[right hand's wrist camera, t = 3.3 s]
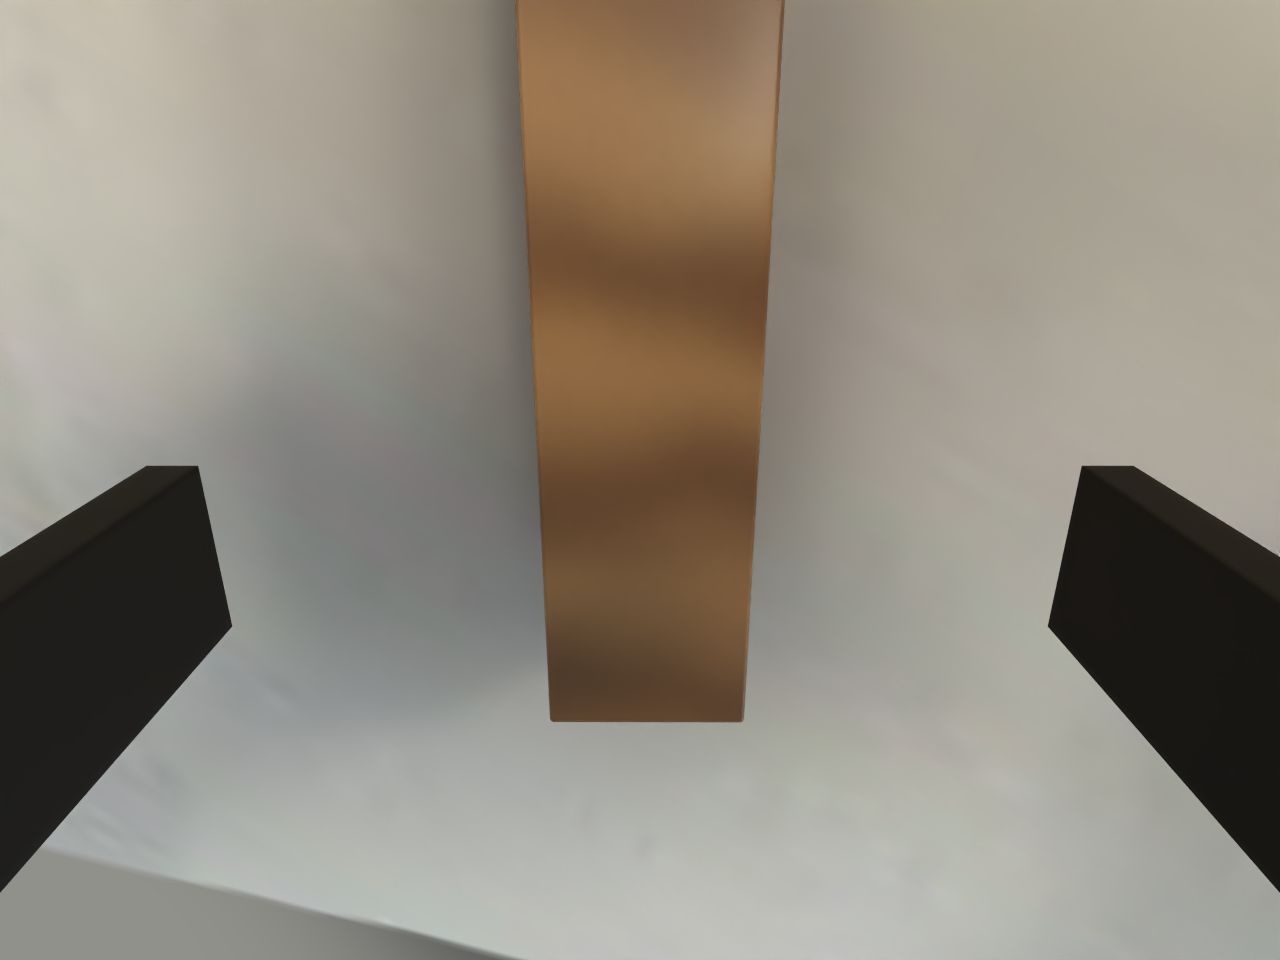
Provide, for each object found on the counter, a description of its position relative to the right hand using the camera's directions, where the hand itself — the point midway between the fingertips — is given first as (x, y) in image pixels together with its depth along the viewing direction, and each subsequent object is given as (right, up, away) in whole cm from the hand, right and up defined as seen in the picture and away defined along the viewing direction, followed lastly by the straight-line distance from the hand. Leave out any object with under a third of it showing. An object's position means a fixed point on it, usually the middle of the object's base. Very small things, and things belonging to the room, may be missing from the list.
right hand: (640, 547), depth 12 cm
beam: (0, +24, +6) cm, 24 cm away
